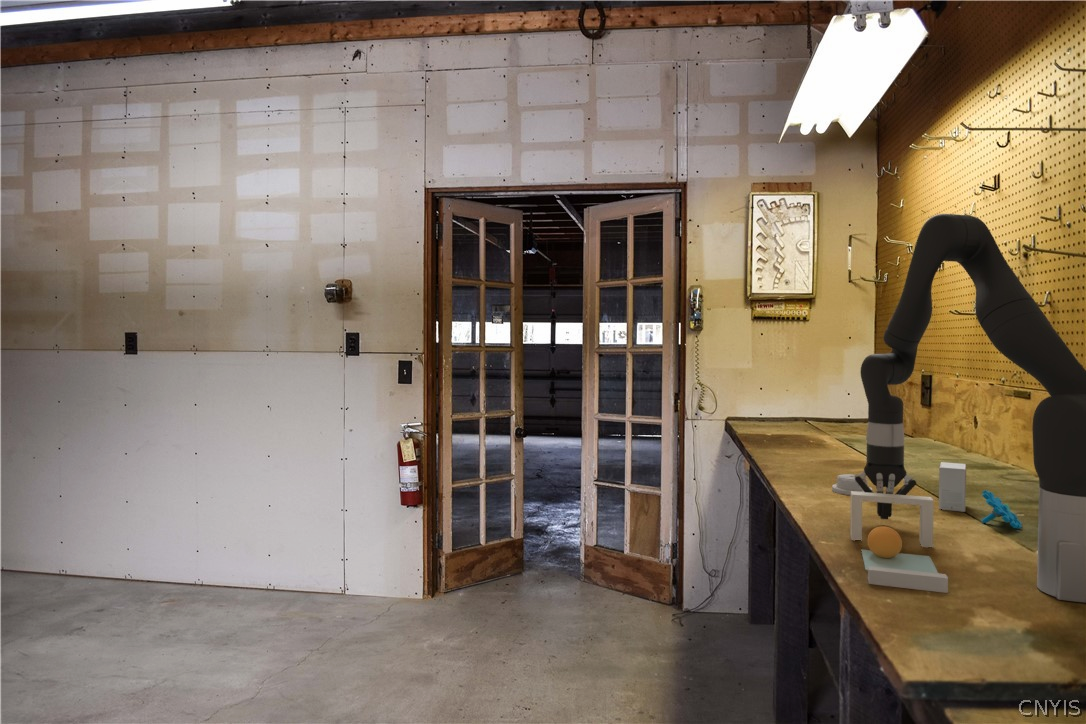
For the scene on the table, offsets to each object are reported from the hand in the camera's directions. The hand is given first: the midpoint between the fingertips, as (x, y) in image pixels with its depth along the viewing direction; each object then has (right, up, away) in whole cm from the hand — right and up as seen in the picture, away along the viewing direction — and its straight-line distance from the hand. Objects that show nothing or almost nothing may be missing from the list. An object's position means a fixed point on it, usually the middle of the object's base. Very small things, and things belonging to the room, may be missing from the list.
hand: (884, 518), depth 152 cm
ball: (-11, 0, -22) cm, 24 cm away
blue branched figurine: (+26, -2, -1) cm, 26 cm away
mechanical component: (+7, -1, +32) cm, 32 cm away
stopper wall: (-14, -3, -36) cm, 39 cm away
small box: (+24, -1, +14) cm, 28 cm away
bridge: (-5, -2, -12) cm, 13 cm away
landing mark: (-10, -3, -25) cm, 27 cm away
